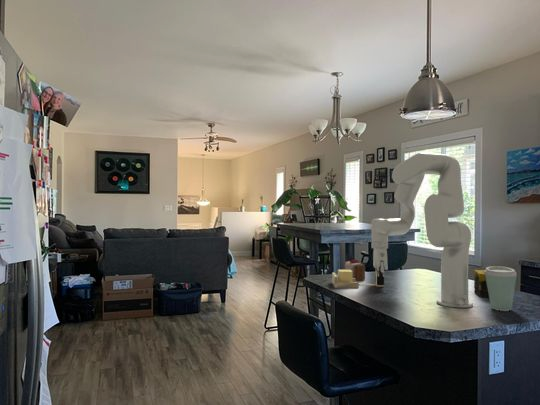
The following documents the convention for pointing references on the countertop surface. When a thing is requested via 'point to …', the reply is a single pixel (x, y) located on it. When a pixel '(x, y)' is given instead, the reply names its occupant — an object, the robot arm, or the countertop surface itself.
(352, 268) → the food item
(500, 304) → the disposable coffee cup
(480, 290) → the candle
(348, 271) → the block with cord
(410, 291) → the countertop surface
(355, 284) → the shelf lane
